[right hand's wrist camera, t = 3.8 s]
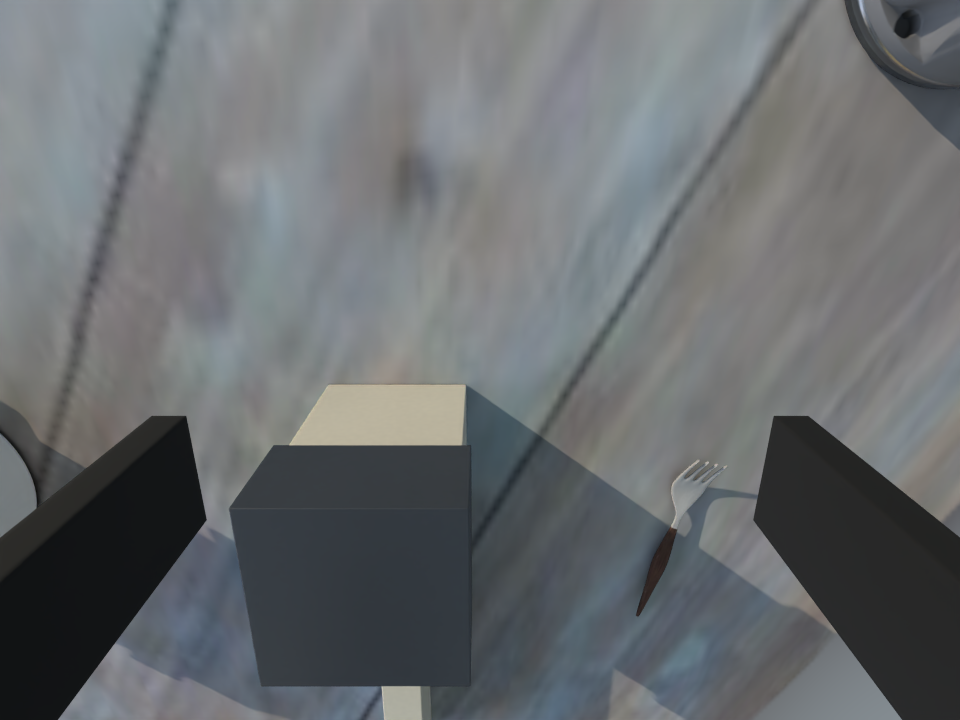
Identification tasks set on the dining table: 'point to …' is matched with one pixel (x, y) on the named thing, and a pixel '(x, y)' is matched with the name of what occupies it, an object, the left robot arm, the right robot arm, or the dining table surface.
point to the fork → (676, 522)
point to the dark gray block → (358, 564)
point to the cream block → (390, 422)
